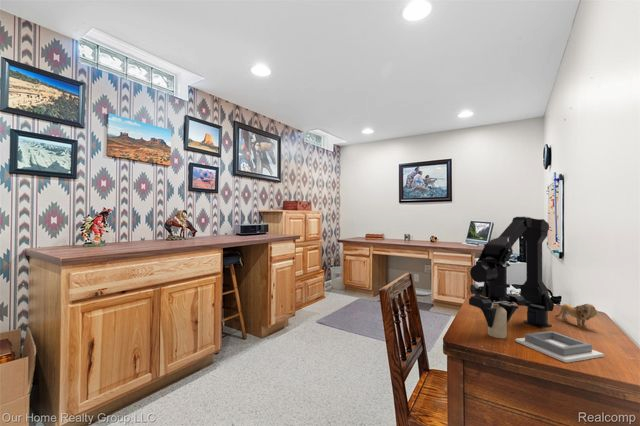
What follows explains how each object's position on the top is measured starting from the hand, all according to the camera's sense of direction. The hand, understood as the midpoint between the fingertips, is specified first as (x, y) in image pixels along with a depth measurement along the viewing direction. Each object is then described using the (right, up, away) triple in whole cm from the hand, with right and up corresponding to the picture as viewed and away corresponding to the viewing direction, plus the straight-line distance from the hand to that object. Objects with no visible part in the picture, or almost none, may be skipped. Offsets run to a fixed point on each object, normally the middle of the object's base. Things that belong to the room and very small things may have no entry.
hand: (497, 326), depth 100 cm
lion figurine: (+38, -4, +13) cm, 40 cm away
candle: (0, -3, 0) cm, 3 cm away
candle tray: (+12, -3, -10) cm, 16 cm away
